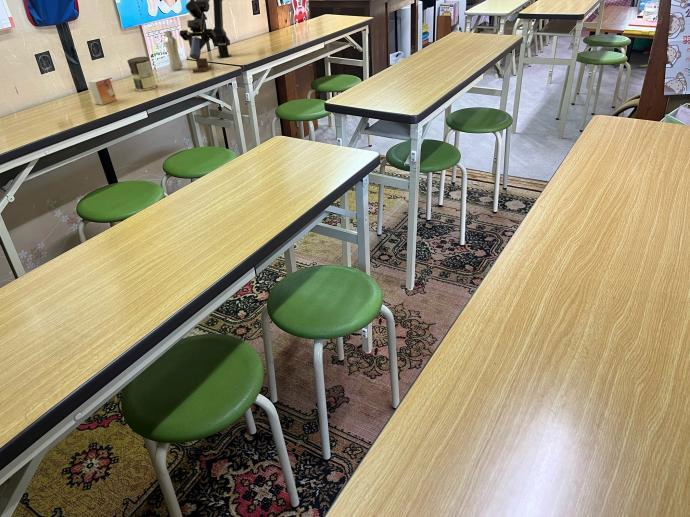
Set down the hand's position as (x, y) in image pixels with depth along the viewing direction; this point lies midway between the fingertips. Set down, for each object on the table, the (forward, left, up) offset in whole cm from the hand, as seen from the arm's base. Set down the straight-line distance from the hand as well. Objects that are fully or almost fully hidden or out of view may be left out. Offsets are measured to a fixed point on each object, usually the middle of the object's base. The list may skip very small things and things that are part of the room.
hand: (195, 48), depth 277 cm
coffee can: (+10, -33, -12) cm, 36 cm away
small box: (+20, -55, -12) cm, 60 cm away
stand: (-1, +1, -12) cm, 12 cm away
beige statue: (-16, -8, -12) cm, 21 cm away
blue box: (0, 0, 0) cm, 0 cm away
